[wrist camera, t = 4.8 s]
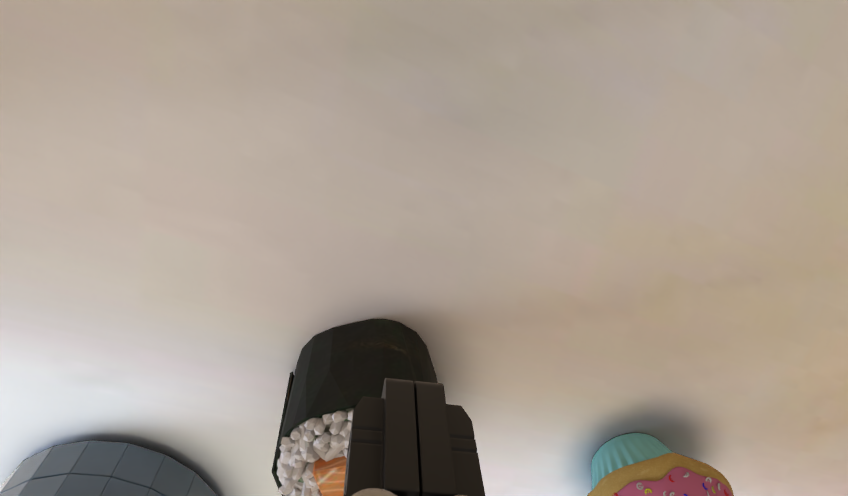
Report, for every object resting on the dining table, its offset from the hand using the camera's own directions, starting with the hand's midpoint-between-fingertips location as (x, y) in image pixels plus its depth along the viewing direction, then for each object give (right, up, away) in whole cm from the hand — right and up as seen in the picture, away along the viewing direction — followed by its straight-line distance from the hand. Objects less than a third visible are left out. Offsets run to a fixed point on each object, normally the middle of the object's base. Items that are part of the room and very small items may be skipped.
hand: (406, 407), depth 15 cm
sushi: (-3, -3, +18) cm, 19 cm away
